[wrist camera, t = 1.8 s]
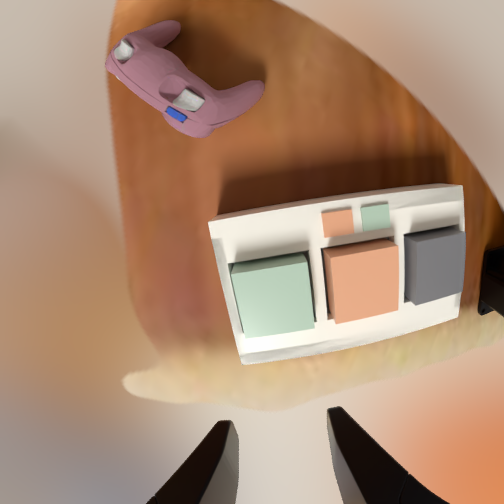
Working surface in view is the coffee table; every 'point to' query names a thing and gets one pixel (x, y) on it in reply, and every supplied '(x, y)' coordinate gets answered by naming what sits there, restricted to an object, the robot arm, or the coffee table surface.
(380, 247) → the terracotta key
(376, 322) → the pad
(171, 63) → the video game controller
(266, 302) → the sage key
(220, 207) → the coffee table surface
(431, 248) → the charcoal key
